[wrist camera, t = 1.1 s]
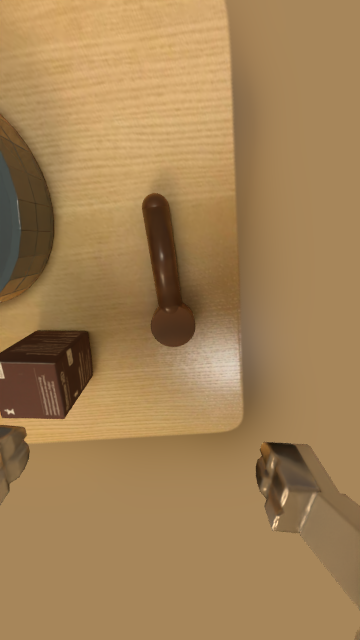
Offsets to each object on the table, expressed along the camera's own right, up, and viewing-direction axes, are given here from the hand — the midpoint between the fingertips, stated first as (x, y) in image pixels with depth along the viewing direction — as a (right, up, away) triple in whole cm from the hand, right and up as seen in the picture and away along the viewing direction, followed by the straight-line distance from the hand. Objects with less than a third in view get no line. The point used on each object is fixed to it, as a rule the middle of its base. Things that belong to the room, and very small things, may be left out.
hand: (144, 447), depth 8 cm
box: (-12, +1, +19) cm, 23 cm away
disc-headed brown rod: (0, +9, +16) cm, 18 cm away
